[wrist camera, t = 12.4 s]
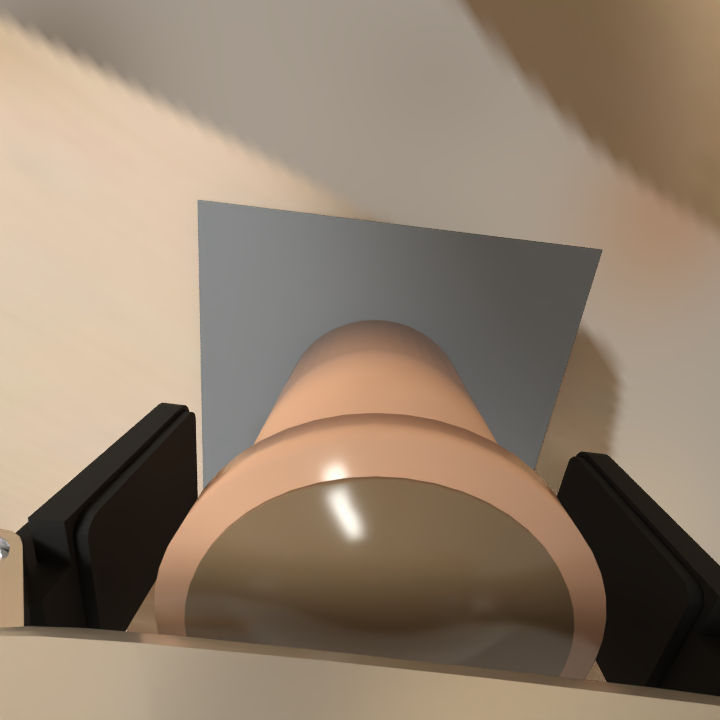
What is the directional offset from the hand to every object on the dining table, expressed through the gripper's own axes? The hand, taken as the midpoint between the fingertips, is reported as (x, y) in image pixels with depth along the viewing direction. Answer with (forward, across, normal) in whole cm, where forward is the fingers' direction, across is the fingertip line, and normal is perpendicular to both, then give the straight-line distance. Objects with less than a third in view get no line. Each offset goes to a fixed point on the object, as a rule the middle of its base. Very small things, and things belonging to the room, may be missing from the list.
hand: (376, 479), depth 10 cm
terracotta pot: (+4, 0, 0) cm, 4 cm away
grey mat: (+5, 0, 0) cm, 5 cm away
